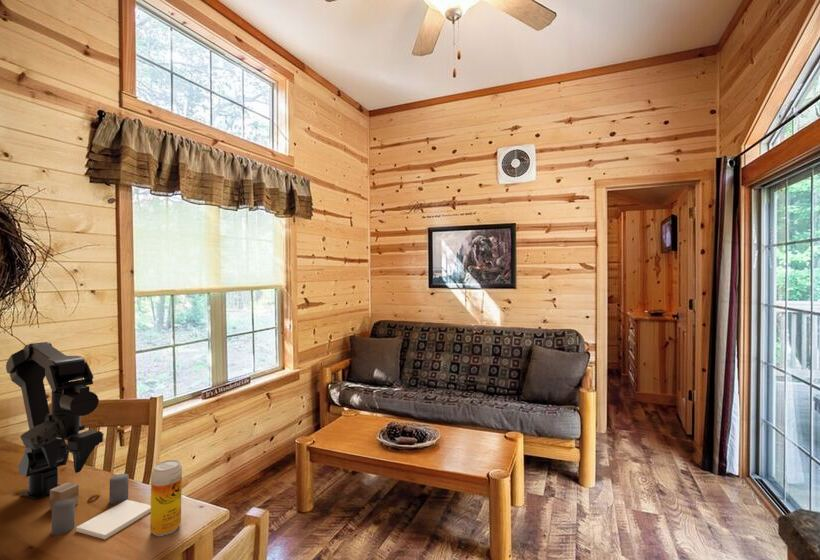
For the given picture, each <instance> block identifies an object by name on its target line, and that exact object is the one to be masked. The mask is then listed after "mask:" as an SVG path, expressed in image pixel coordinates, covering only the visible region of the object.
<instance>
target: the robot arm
mask: <svg viewBox="0 0 820 560" xmlns="http://www.w3.org/2000/svg"><path fill="white" fill-rule="evenodd" d="M5 364H6V365H5V370H6V373H7V374H9V376H10V380H11V382H13V383H14V384H15V385H16V386H18V387H19V388H20V389H21V395H22V399H23V404H24V405H23V406H24V408H25V415H26V420H27V425H28V429H29V430H27V431H25V432H24V433H22V434H20V436H19V437H20V439H21V441H22V444H23V446H24V454H23V456H22V458H21V460H20V462H19V463H18V472H19V474H20V475H21V476H23V477H25V478H27V490H26V491H23V492H21V493H20V496H21V497H26V498H29V499H34V500H39V499H41V498H43V497H45V496H47V495H50V490H51V489H53V488H55V487H58V486H60V485H61V484H59V467H62V466H66V465H67V462H68V459H69V458H68V457H69V453H71V454H72V459H73V461H72V462H73V469H74V473H75V474H77V473H80V472H81V471H82V469H83V468H84V466H85V465H86V462H87V461H88V459H89V457H90V456H91V454H92V452H93V451H94V449H95V448H96V446H99V445H100V443H103V442H104V433H103V432H102V431H99V430H95V429H88V430H85V429H86V427H85V426H86V425H84V424H81V417H84V416H88V415H89V414H91V413H93V412H94V411H95V410H96V409H97V408H98V405H99V401H100V399H99V397H98V394H96V393H95V392H93V391H91V390H90V385H94V381H93V379H94V375H93V372H92V370H91V368H90V366H89V364H88V362H87V361H86V360H85V359H84V358H83V357H82V356H77V355H67V354H65V353H63V352H61V351H60V350H58V349H57V348H55V347H54V346H53V345H52V343H51V342H47V341H44V342H32V343H29V344H25V345H24V347H23V348H22V349H21V350H18V351H16V352H14V353H12V354H11V355H10V356H9V358H8V359H7V361H6V363H5ZM44 379H46V381H47V383H48V384H49V387H50V390H51V394H50V395H51V396H50V397H51V400H50V401H51V402H50V403H51V404H50V405H49V402H48V397H47V393H46V389H45V384H44V383H45V382H44ZM50 407H51V408H50ZM83 430H85V431H83ZM82 431H83V432H82Z"/></svg>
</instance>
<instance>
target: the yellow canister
mask: <svg viewBox="0 0 820 560" xmlns="http://www.w3.org/2000/svg"><path fill="white" fill-rule="evenodd" d="M150 473H151V476H150V479H151V480H150V484H151V485H150V505H151V512H150V519H149V520H150V521H149V522H150V523H149V525H150V527H149V528H150V530H149V531H150V533H151V534H153V535H154V536H155V535H156V537H163V536H164V535H165V536H167V535H171V534H172V533H174V532H176V531H177V529H179V526H180V525H181V523H182V492H183V491H182V489H183V488H182V487H183V486H182V483H183V481H182V479H183V478H182V477H183V466H182V464H181V461H179V460H177V459H169V460H164V461H161V462H159V463H155V465H154V466H153V469H152V471H151V472H150Z"/></svg>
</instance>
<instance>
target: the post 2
mask: <svg viewBox="0 0 820 560" xmlns="http://www.w3.org/2000/svg"><path fill="white" fill-rule="evenodd" d="M129 478H130V477H129V474H128V473H120V474H115V475H113V476H112V477H110V478H109V495H108V496H109V497H108V498H109V499H108V500H109V502H108V503H109V505H113V506H114V505H115V506H116V505H118V504H120V503H122V502H124V501H126V500H129V481H130V480H129Z"/></svg>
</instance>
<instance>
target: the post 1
mask: <svg viewBox="0 0 820 560" xmlns="http://www.w3.org/2000/svg"><path fill="white" fill-rule="evenodd" d="M75 510H76V505H75V500H74V499H67V500H62V501H59V502H57V503H55V504H54V505H53V506H52V510H51V525H50V527H51V531H50V533H51V536H61V535H64V534H67V533H69V532H71V531H73V530H74V528H75V520H76V519H75V515H76V513H75Z"/></svg>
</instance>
